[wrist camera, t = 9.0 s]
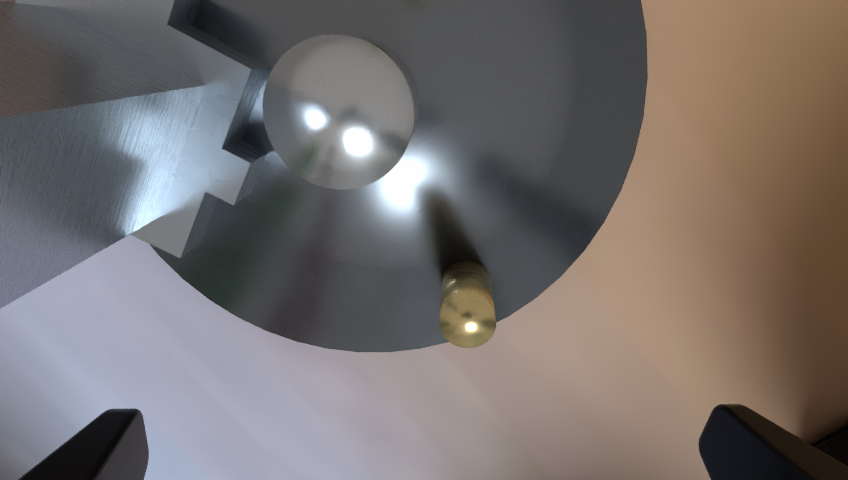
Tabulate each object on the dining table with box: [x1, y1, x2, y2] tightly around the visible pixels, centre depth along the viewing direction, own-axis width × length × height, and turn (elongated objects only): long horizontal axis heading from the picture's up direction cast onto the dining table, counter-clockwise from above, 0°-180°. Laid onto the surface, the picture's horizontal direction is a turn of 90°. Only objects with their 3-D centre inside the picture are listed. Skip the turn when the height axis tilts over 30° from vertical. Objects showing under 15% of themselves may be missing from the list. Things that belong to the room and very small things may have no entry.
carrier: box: [150, 0, 647, 352], centre depth 17 cm, size 19×19×4 cm
